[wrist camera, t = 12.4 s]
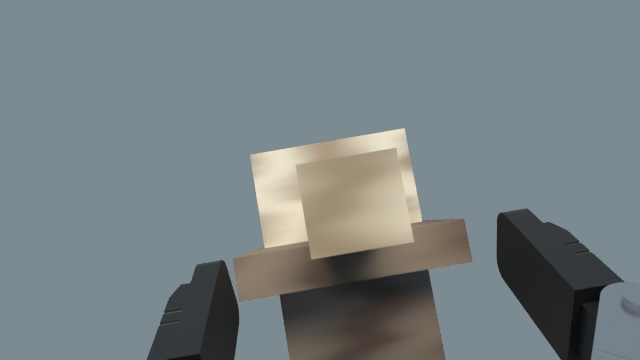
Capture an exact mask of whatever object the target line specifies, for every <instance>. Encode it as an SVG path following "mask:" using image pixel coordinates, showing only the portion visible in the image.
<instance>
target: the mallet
mask: <svg viewBox="0 0 640 360" xmlns="http://www.w3.org/2000/svg"><path fill="white" fill-rule="evenodd" d="M250 157H251V163H252V169H253V176H254V182H255V189H256V195H257V201H258V207H259V214H260V221H261V227H262V233H263V240H264V246H265V248H270V247H276V246H281V245H287V244H293V243H299V242H305V241H308V242H309V248H310V254H311V260H312V259H318V258H323V257H329V256H335V255H341V254H347V253H353V252H359V251H364V250H370V249H376V248H382V247H388V246H394V245H399V244H405V243H411V242H414V239H413V233H412V228H411V223H416V222H422V217H421V212H420V207H419V201H418V196H417V191H416V186H415V181H414V175H413V171H412V165H411V160H410V155H409V149H408V144H407V139H406V134H405V129H398V130H393V131H387V132H381V133H375V134H369V135H363V136H357V137H351V138H346V139H340V140H334V141H328V142H322V143H316V144H311V145H305V146H299V147H294V148H287V149H282V150H276V151H271V152H265V153H258V154H253V155H250Z"/></svg>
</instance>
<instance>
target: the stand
mask: <svg viewBox="0 0 640 360" xmlns="http://www.w3.org/2000/svg"><path fill="white" fill-rule="evenodd" d="M411 228H412V233H413V239H414V242H411V243H405V244H399V245H394V246H388V247H382V248H376V249H370V250H364V251H359V252H353V253H347V254H341V255H335V256H329V257H323V258H318V259H312V260H311V254H310V248H309V242H308V241H305V242H299V243H293V244H287V245H281V246H276V247H270V248H265V247H263V248H260V249H257V250H255V251H252V252H249V253H247V254H244V255H241V256H239V257H236V258H233V261H234V268H235V276H236V282H237V289H238V295H239V301H244V300H251V299H257V298H263V297H268V296H274V295H280V299H281V306H282V312H283V319H284V325H285V331H286V338H287V344H288V351H289V356H290V360H445V355H444V350H443V344H442V340H441V334H440V329H439V324H438V319H437V313H436V308H435V303H434V298H433V292H432V287H431V283H430V277H429V272H428V269H433V268H438V267H444V266H450V265H456V264H461V263H468V262H472V257H471V252H470V247H469V242H468V237H467V232H466V227H465V222H464V219H451V220H422V222H416V223H411Z"/></svg>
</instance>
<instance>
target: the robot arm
mask: <svg viewBox="0 0 640 360" xmlns="http://www.w3.org/2000/svg"><path fill="white" fill-rule="evenodd" d="M497 264H498V268H499V271H500V274H501V276H502V278H503V279H504V281H505V282H506V284H507V285H508V286H509V288H510V289H511V291H512V292H513V293H514V295H515V296H516V298H517V299H518V300H519V302H520V303H521V304H522V306H523V307H524V309H525V310H526V311H527V313H528V314H529V316H530V317H531V318H532V320H533V321H534V323H535V324H536V325H537V327H538V328H539V330H540V331H541V332H542V334H543V335H544V336H545V338H546V339H547V341H548V342H549V343H550V345H551V346H552V347H553V349H554V350H555V352H556V353H557V354H558V356H559V357H560V359H561V360H640V284H637V283H628V282H624V281H623V280H622V279H621V278H620V277H618V276H617V275H616V274H615V273H614V272H613V271H612V270H610V268H608V267H607V266H606V265H605V264H604V263H603V262H602V261H601V260H600V259H598V258H597V257H596V256H595V255H594V254H593V253H590V252H589V250H588V249H587V248H586V247H585V246H584V245H583V244H580V243H579V241H578V240H577V239H576V238H575V237H574V236H573V235H572V234H571V233H570V232H568V231H567V230H565V229H563V228H561V227H559V226H556V225H555V224H552V223H550V222H547V223H542V222H541V221H540V220H539V219H538V218H537V217H536V216H535V215H534V214H533V213H532V212H531V211H530V210H528V209H520V210H514V211H509V212H503V213H500V214H499V215H498V218H497ZM164 313H165V314H164V315H163V317H162V319H161V322H160V326H159V328H158V331H157V333H156V336H155V339H154V341H153V344H152V347H151V350H150V352H149V355H148V358H147V360H234V356H235V349H236V342H237V334H238V327H239V310H238V304H237V300H236V297H235V293H234V290H233V287H232V283H231V280H230V277H229V273H228V270H227V267H226V264H225V262H224V261H223V260H220V261H215V262H209V263H203V264H198V265H197V266H196V268H195V271H194V274H193V277H192V281H191V283H189V284H183V285H180V287H179V288H178V289H177V290H176V291H175V292H174V293H173V294H172V295H171V297H170V298H169V300H168V303H167V306H166V308H165V311H164Z"/></svg>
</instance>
